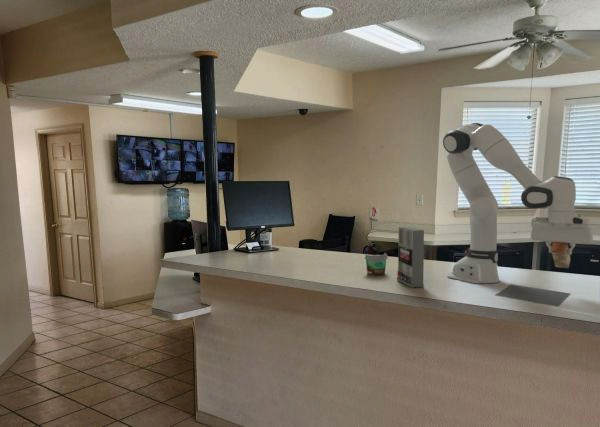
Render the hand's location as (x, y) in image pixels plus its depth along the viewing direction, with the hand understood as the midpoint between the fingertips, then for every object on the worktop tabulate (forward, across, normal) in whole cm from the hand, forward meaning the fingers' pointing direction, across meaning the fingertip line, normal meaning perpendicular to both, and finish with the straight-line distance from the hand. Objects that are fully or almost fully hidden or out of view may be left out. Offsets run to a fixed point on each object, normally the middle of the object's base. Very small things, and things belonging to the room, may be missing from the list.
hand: (560, 253), depth 159 cm
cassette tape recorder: (+17, -54, -19) cm, 60 cm away
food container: (+17, -74, -13) cm, 77 cm away
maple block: (+5, 0, +6) cm, 7 cm away
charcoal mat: (+17, -8, -4) cm, 19 cm away
